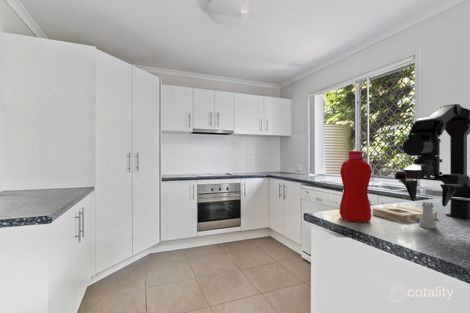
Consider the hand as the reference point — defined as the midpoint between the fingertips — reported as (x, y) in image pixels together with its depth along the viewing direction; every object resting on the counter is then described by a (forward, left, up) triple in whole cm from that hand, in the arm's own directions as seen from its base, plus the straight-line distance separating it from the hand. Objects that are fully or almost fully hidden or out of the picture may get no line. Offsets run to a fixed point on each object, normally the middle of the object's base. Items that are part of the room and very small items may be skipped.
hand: (427, 203), depth 78 cm
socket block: (-6, -12, -8) cm, 15 cm away
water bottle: (+15, -14, -8) cm, 22 cm away
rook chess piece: (0, 0, -8) cm, 8 cm away
